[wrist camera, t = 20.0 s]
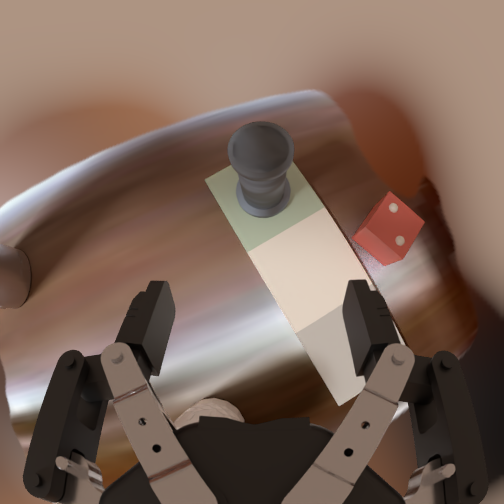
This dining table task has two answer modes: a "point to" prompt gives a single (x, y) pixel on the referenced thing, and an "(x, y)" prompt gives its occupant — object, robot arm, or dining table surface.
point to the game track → (302, 272)
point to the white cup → (208, 411)
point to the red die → (388, 230)
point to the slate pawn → (262, 167)
